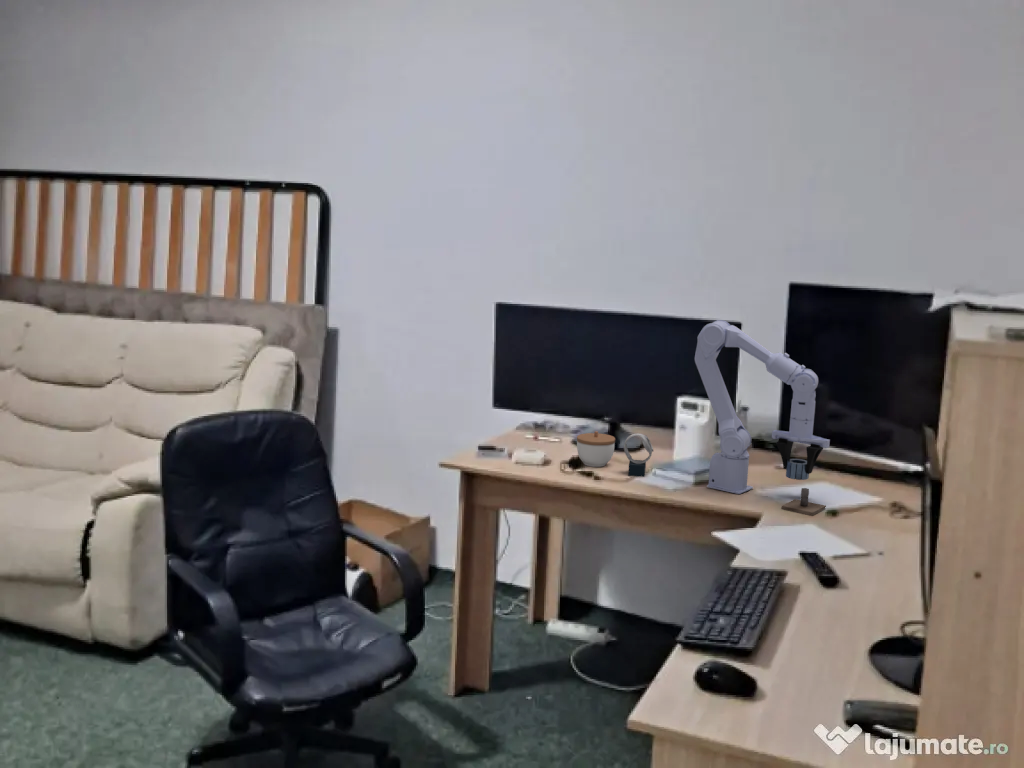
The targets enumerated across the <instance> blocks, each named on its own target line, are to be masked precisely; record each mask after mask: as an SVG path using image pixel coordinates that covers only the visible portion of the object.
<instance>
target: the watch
mask: <svg viewBox="0 0 1024 768" xmlns="http://www.w3.org/2000/svg"><path fill="white" fill-rule="evenodd" d="M634 437H639V438H640V439H641V442H642V445H643V448H644V449H645V451H646V452H647V453H648V456H647V457H646V458H645V459H642V460H641V459H634V458H632V455H631V453H630V452H629V449H628V445H627V444H628V443H627V442H628V441H629V440H630V439H631V438H634ZM623 450H624V454H625V456H626V459H628V461H629V464H628V475H627V476H628V477H639V478H640V477H642V478H645V476H646V467H647V466H646V465H647V462H648V461H650V458H651V457H652V455H653V454H652V453H653V452H654V448H653V445H652V443H651V441H650V438H649V437H648V436H647V435H646V434H645V435H644V434H643V433H638V432H637V433H633V434H630V435H628V436H627V438H626V439H625V441H624V445H623Z"/></svg>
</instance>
